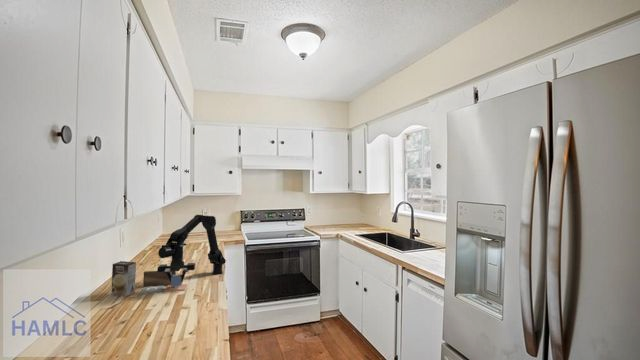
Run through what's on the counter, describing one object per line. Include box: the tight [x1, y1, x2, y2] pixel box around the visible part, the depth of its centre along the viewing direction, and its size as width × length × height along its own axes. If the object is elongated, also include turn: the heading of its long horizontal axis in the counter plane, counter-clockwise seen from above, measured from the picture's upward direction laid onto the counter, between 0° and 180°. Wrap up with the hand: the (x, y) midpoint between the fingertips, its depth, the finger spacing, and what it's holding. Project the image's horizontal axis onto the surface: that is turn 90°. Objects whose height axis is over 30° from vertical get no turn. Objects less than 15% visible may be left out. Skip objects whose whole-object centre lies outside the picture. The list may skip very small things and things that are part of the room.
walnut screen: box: [142, 270, 177, 288], centre depth 174 cm, size 2×16×8 cm, turn 107°
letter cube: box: [171, 273, 183, 286], centre depth 169 cm, size 5×5×5 cm
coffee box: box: [110, 260, 137, 297], centre depth 159 cm, size 9×6×16 cm
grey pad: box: [139, 285, 165, 295], centre depth 166 cm, size 10×10×1 cm
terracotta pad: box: [164, 283, 188, 293], centre depth 169 cm, size 10×10×1 cm
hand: (176, 282), depth 169 cm, fingers closed on letter cube, 5 cm apart
